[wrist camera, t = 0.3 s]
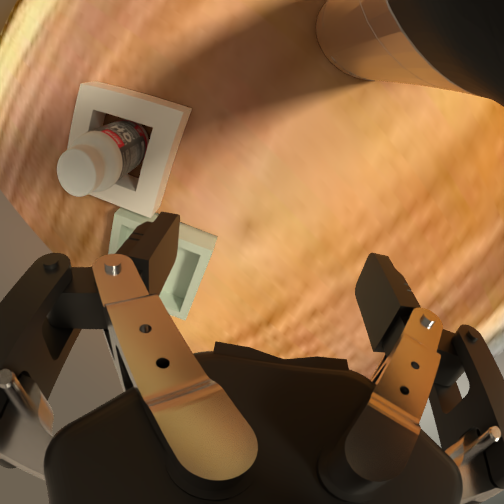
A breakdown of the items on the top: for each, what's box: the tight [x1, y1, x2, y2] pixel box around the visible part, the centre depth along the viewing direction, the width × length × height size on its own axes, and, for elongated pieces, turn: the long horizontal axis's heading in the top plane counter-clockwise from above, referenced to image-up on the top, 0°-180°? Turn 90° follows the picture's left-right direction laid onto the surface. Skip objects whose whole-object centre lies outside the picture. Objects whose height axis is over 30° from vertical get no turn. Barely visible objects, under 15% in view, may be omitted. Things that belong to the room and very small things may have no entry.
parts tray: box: [108, 207, 218, 320], centre depth 34 cm, size 11×11×3 cm
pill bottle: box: [57, 119, 149, 197], centre depth 24 cm, size 5×5×10 cm
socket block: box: [67, 81, 192, 218], centre depth 27 cm, size 11×11×3 cm
